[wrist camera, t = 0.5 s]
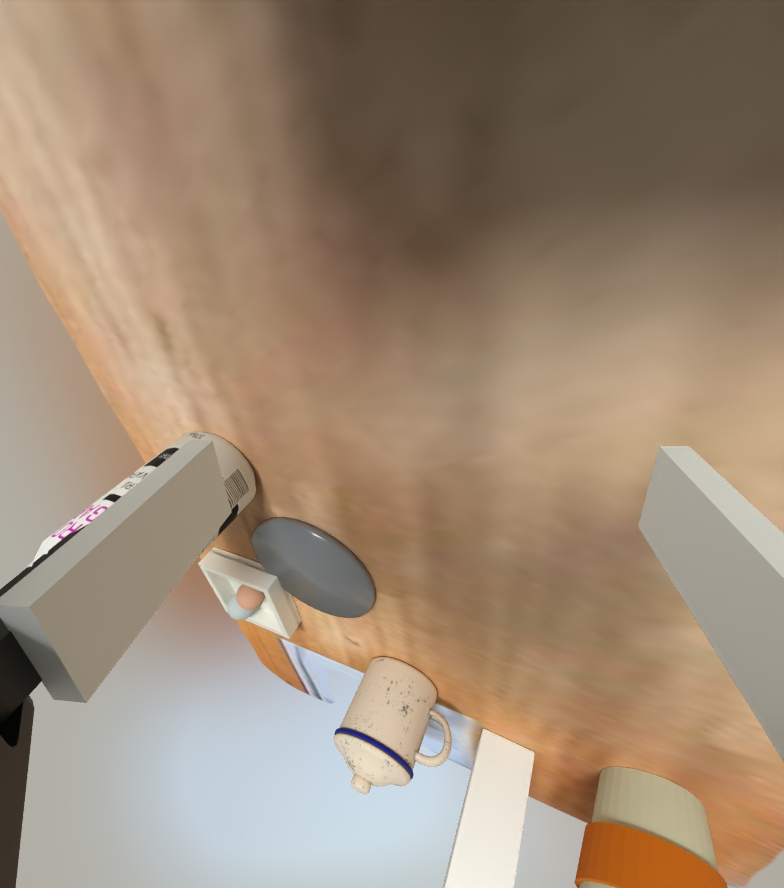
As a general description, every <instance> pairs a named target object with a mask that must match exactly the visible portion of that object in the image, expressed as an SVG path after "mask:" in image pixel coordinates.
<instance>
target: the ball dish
mask: <svg viewBox="0 0 784 888" xmlns="http://www.w3.org/2000/svg"><path fill="white" fill-rule="evenodd" d="M198 564H199V566H200V568H201V569H202V571H203V573H204V574H205V576H206V578H207V580H208V581H209V583H210V585H211V586H212V588H213V590H214V592H215V593H216V595H217V597H218V598H219V600H220V602H221V604H222V605H223V607H224V608H225V610H226V612H228V610H227V606H228V602H229V600H230V599H231V598H232V597H233V596H234V595H235V594H237V590H238V588H239V587H240V586H241V585H242V584H243V585H246V586H248V587H251V588H253V589H256V590H259V591H261V592H264V595H265V599H264V601H263V603H262V604H261V605H260V606H259V607H258V608H256V609H254V611H253V613H252V614H251V616H249V617H248V618H247V619H244V620H246V621H249V622H251V623H253V624H256V625H258V626H260V627H263V628H265V629H267V630H270V631H272V632H274V633H277V634H279V635H281V636H284V637H286V638H288V639H290V638H291V636H292V634H293V633H294V631H295V630H296V628H297V627H298V625H299V623H300V622H301V618H300V615H299V613H298V610H297V608H296V605H295V603H294V600H293V598H292V595H291V594H290V593H288V592H287V591H286V590H285V589H283V588H282V586H281V584H280V582H279V579H278V577H277V576H274V575H271V574H268V573H267V572H266V570H265V569H264V568H263V567H262V565H261V564H260V563H258V562H255V561H252V560H249V559H247V558H244V557H241V556H238V555H236V554H233V553H230V552H227V551H224V550H222V549H219V548H216V547H213V548H212V549H211V550H210V552H209V553H208V554H207V555H206V556H205V557H204V558H203V559H202V560H201V561H200V562H199V563H198Z"/></svg>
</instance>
